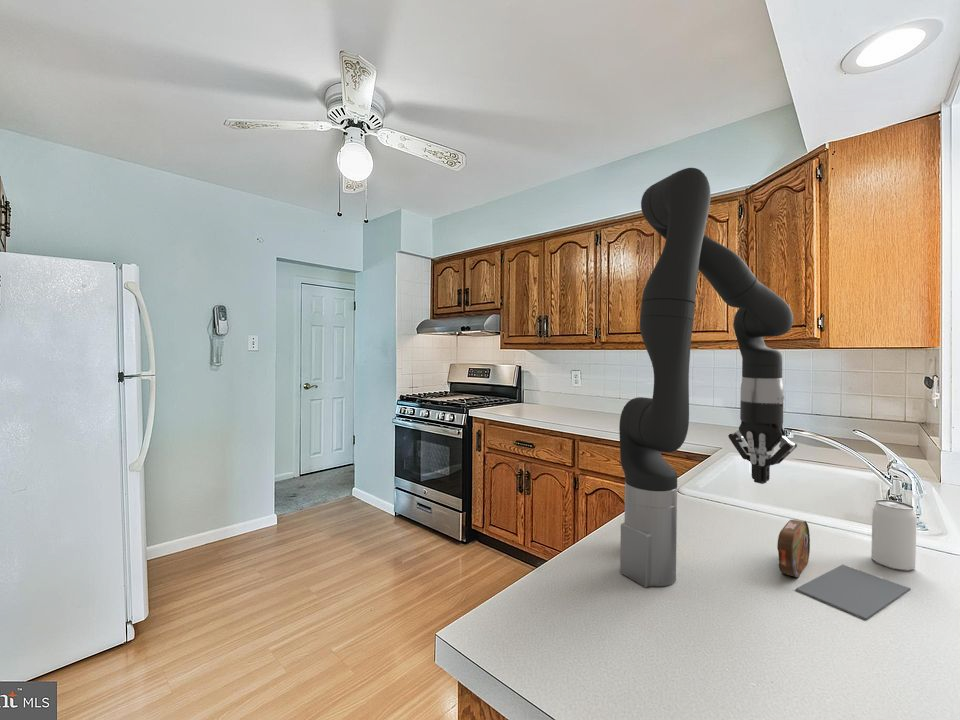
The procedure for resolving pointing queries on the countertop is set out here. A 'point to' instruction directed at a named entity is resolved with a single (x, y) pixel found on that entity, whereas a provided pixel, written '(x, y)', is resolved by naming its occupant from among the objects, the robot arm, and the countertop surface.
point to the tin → (793, 547)
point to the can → (894, 535)
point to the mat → (853, 591)
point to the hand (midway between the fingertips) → (760, 482)
